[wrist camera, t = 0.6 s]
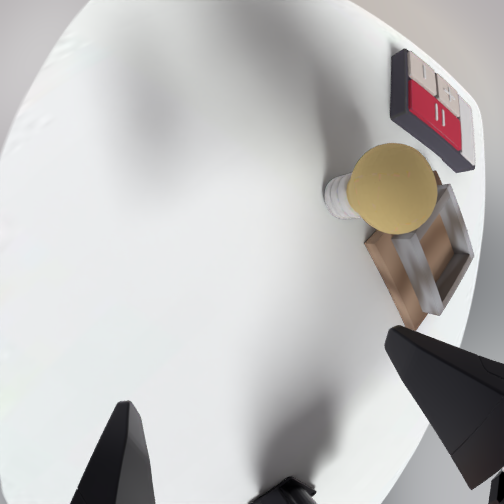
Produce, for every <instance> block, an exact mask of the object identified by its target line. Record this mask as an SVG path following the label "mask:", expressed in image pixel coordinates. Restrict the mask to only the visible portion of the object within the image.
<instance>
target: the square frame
mask: <svg viewBox="0 0 504 504" xmlns="http://www.w3.org/2000/svg"><path fill="white" fill-rule="evenodd" d="M433 173H434V176H435V180H436V184H437V201H436V205H435V207H434V209H433V212H432V214H431V215H430V217H429V218H428V219H427V220H426V222H425V223H423V224H422V225H421V226H420V227H419V228H417V229H416V230H413V231H411V232H409V233H404V234H388V233H384V232H381V231H379V230H376V231H375V232H374V233H373V234H372V236H371V237H370V238H369V239H368V240H367V241H366V242H365V243H364V244H365V246H366V248H367V250H368V251H369V253H370V255H371V257H372V259H373V261H374V263H375V265H376V266H377V268H378V270H379V272H380V274H381V276H382V278H383V280H384V282H385V284H386V286H387V288H388V290H389V292H390V294H391V296H392V298H393V301H394V303H395V305H396V307H397V309H398V311H399V313H400V315H401V318H402V320H403V322H404V324H405V327H406V328H408V329H411V330H414V331H416V330H417V328H418V327H419V326H420V324H421V323H422V321H423V320H424V318H425V317H426V316H427V314H428V313H429V314H434V315H438V316H440V315H441V313H442V312H443V310H444V309H445V307H446V305H447V304H448V302H449V300H450V299H451V297H452V296H453V294H454V292H455V290H456V289H457V287H458V285H459V283H460V282H461V280H462V278H463V276H464V274H465V273H466V271H467V269H468V267H469V265H470V263H471V261H472V259H473V257H474V253H473V249H472V246H471V242H470V239H469V235H468V232H467V229H466V226H465V223H464V220H463V217H462V214H461V211H460V208H459V205H458V203H457V200H456V197H455V195H454V192H453V189H452V187H451V184H444V185H442V183H441V180H440V178H439V176H438V174H437V171H433Z"/></svg>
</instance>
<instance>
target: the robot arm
mask: <svg viewBox="0 0 504 504" xmlns="http://www.w3.org/2000/svg"><path fill="white" fill-rule="evenodd" d="M385 350H386V352H387V354H388V356H389V357H390V359H391V361H392V363H393V365H394V367H395V368H396V370H397V372H398V374H399V376H400V378H401V380H402V381H403V383H404V384H405V386H406V387H407V389H408V390H409V392H410V393H411V395H412V396H413V398H414V399H415V401H416V402H417V404H418V405H419V407H420V408H421V410H422V411H423V413H424V414H425V416H426V418H427V419H428V421H429V422H430V424H431V425H432V427H433V428H434V430H435V431H436V433H437V434H438V436H439V438H440V439H441V441H442V443H443V444H444V446H445V447H446V449H447V451H448V452H449V454H450V455H451V457H452V459H453V461H454V462H455V464H456V466H457V467H458V469H459V471H460V472H461V474H462V476H463V478H464V479H465V481H466V483H467V485H468V486H469V488H470V489H471V490H472V489H474V488H476V487H477V486H478V485H480V484H481V483H483V482H484V481H486V480H487V479H488V478H489V477H491V476H492V475H493V474H495V473H496V472H498V471H499V470H500V469H501V471H500V472H499V473H498V474H497V475H496V476H495V477H494V479H493V480H492V481H491V489H490V496H489V503H488V504H504V364H502V363H499V362H496V361H493V360H490V359H487V358H484V357H482V356H478V355H476V354H474V353H471V352H468V351H466V350H463V349H460V348H458V347H455V346H453V345H450V344H447V343H445V342H442V341H439V340H437V339H434V338H432V337H429V336H426V335H424V334H421V333H419V332H416V331H414V330H411V329H408V328H406V327H403V326H401V325H397V326H394V327H392V328H390V329H389V331H388V334H387V338H386V341H385ZM77 488H78V489H76V492H75V494H74V496H73V498H72V501H71V503H70V504H155V497H154V490H153V483H152V474H151V466H150V459H149V455H148V450H147V445H146V441H145V436H144V431H143V425H142V420H141V417H140V414H139V413H138V411H137V410H136V408H135V407H134V405H133V403H132V402H131V401H120V402H118V403H117V405H116V407H115V409H114V411H113V413H112V415H111V417H110V419H109V421H108V423H107V425H106V427H105V429H104V431H103V433H102V435H101V437H100V439H99V441H98V443H97V446H96V448H95V450H94V452H93V454H92V456H91V458H90V460H89V463H88V465H87V467H86V469H85V471H84V474H83V476H82V478H81V480H80V483H79V485H78V487H77ZM315 494H316V491H315V489H313V488H311V487H309V486H307V485H306V484H304V483H302V482H300V481H299V480H297V479H295V478H293V477H288V478H287V479H286V480H284V481H283V482H282V483H280V484H279V485H277V486H276V487H275V488H273V489H272V490H270V491H269V492H268V493H266V494H265V495H263V496H262V497H260V498H259V499H257V500H256V501H254V502H253V503H251V504H317V503H316V502H315V501H314V499H313V498H312V496H313V495H315Z"/></svg>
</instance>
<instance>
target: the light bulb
mask: <svg viewBox="0 0 504 504" xmlns="http://www.w3.org/2000/svg"><path fill="white" fill-rule="evenodd" d="M436 201H437V184H436V180H435V176H434V173H433V171H432V169H431V167H430V165H429V163H428V162H427V160H426V159H425V157H424V156H423V155H422V154H421V153H420V152H419V151H417V150H416V149H414V148H412V147H410V146H407V145H404V144H397V143H388V144H383V145H378V146H376V147H374V148H372V149H370V150H369V151H368V152H366V153H365V154H364V155H363V156H362V157H361V158H360V159H359V161H358V162H357V164H356V165H355V168H354V170H353V172H352V173H349V174H345V175H342V176H338V177H335V178H333V179H332V180H331V181H330V182H329V183H328V184H327V186H326V189H325V202H326V206H327V208H328V210H329V211H330V213H331V214H332V215H334V216H335V217H337V218H339V219H354V218H363V220H364V221H365V222H367V223H368V224H369V225H370V226H372V227H374V228H375V229H377V230H379V231H381V232H384V233H388V234H404V233H409V232H411V231H413V230H416V229H417V228H419V227H420V226H421V225H422V224H423V223H425V222H426V220H427V219H428V218H429V217H430V215H431V214H432V212H433V209H434V207H435V205H436Z"/></svg>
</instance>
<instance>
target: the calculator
mask: <svg viewBox="0 0 504 504" xmlns="http://www.w3.org/2000/svg"><path fill="white" fill-rule="evenodd" d="M390 118H391V120H392V121H393V122H395V123H396V124H398V125H399V126H400V127H402V128H403V129H404V130H406V131H407V132H408V133H410V134H411V135H412V136H413V137H415V138H416V139H417V140H419V141H420V142H421V143H423V144H424V145H425V146H427V147H428V148H429V149H431V150H432V151H433V152H434V153H436V154H437V155H438V156H439V157H441V158H442V160H443V161H444V162H445V163H446V164H447V165H448V166H449V167H450V168H451V169H452V170H453V171H455V172H456V173H459V172H464V171H470V170H474V169H475V141H474V128H473V117H472V109H471V107H470V106H469V105H468V104H467V103H466V102H465V100H464V99H463V98H462V97H461V96H460V95H458V94H457V91H456V90H455V89H454V88H453V87H452V86H451V85H450V84H449V83H448V82H447V81H446V80H444V79H443V78H442V77H441V76H440V75H439V74H438V73H437V74H436V73H435V72H434V70H433V69H432V68H431V67H430V66H429V65H428V64H426V63H425V62H424V61H423V60H422V59H420V58H419V57H418V56H417V55H416V54H414V53H413V52H412V51H408V50H407V49H403V50H401V51H400V52H398V53H396V54H395V55H393V56H392V58H391V104H390Z"/></svg>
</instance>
